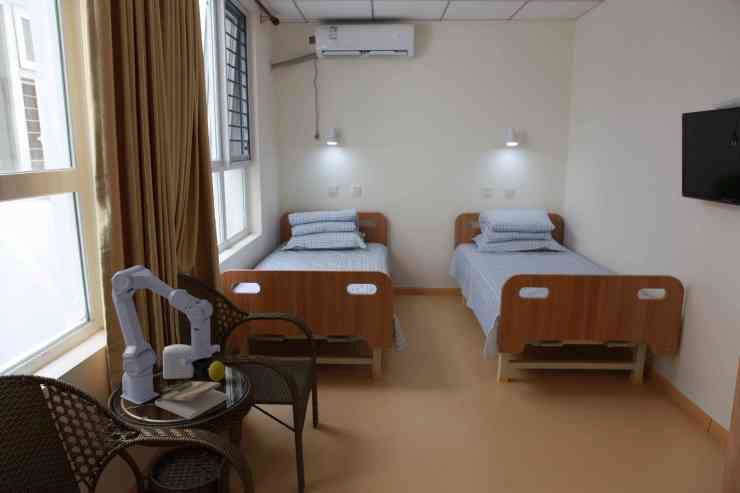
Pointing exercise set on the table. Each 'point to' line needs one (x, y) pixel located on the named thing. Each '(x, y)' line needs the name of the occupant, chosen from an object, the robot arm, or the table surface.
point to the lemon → (216, 371)
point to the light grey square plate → (192, 404)
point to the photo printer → (176, 362)
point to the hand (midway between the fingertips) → (201, 378)
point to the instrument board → (190, 390)
